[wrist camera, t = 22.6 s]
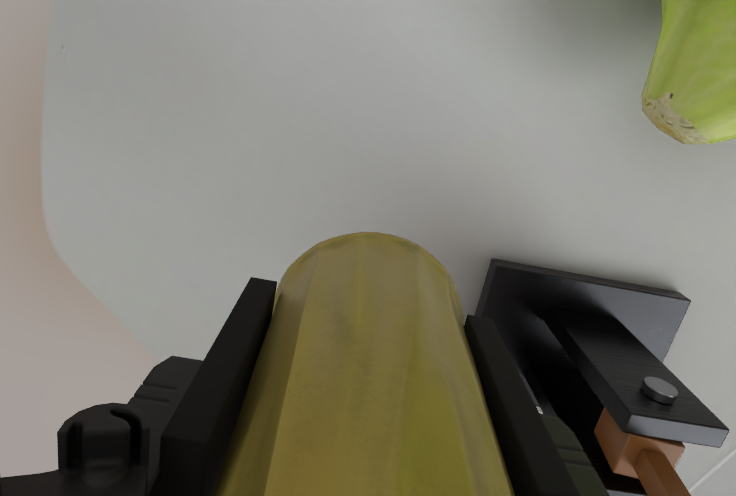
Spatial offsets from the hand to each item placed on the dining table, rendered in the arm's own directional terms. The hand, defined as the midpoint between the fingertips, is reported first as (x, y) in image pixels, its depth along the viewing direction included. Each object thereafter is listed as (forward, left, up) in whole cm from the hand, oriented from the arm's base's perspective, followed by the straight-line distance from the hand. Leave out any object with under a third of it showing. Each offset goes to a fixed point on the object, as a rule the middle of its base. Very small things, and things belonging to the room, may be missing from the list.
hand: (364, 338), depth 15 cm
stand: (+14, -6, -14) cm, 21 cm away
